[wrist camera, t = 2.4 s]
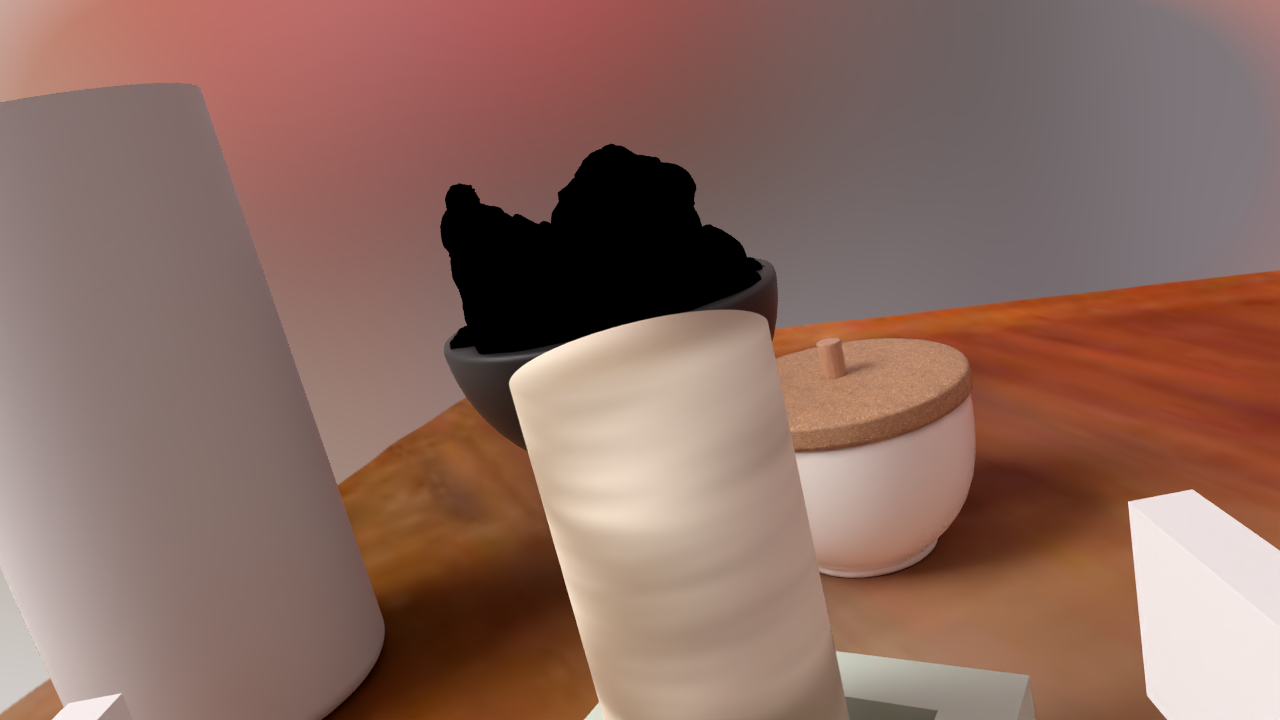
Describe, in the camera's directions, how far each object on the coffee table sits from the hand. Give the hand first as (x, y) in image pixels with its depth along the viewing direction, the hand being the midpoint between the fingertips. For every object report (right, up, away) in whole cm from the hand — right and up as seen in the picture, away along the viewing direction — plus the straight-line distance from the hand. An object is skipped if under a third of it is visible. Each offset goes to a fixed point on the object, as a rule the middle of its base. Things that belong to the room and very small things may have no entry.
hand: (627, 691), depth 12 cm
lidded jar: (+10, -4, +29) cm, 31 cm away
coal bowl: (+1, -2, +45) cm, 45 cm away
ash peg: (+4, -10, +13) cm, 16 cm away
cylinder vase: (-17, -11, +29) cm, 35 cm away
